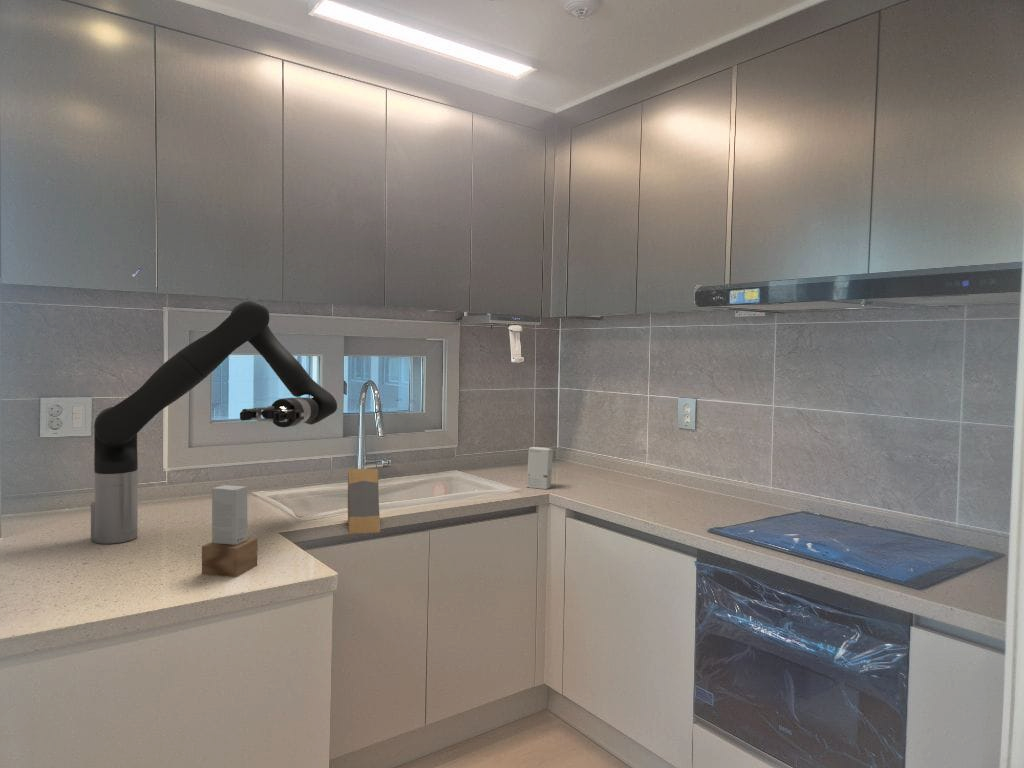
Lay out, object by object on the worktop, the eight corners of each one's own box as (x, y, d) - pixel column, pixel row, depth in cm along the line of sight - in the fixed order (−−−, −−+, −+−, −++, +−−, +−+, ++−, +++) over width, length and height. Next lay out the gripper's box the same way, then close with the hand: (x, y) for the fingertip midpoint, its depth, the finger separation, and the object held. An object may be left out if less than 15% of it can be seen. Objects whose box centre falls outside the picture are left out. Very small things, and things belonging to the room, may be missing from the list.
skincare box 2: (526, 487, 238) (526, 448, 238) (531, 485, 244) (532, 446, 243) (547, 489, 235) (548, 449, 235) (552, 486, 241) (553, 447, 241)
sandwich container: (348, 534, 170) (348, 478, 169) (347, 520, 185) (347, 468, 184) (381, 532, 172) (381, 477, 172) (377, 519, 187) (378, 468, 187)
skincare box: (248, 540, 140) (248, 486, 140) (235, 545, 136) (235, 489, 136) (224, 538, 142) (224, 484, 141) (210, 543, 138) (211, 488, 137)
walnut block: (201, 574, 136) (201, 546, 135) (224, 562, 144) (224, 536, 143) (236, 576, 134) (236, 548, 134) (257, 565, 142) (257, 538, 142)
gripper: (266, 397, 171) (230, 400, 155) (316, 398, 169) (285, 401, 153) (265, 425, 172) (230, 431, 156) (316, 426, 170) (285, 433, 153)
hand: (258, 416), depth 154 cm, fingers open, 8 cm apart
